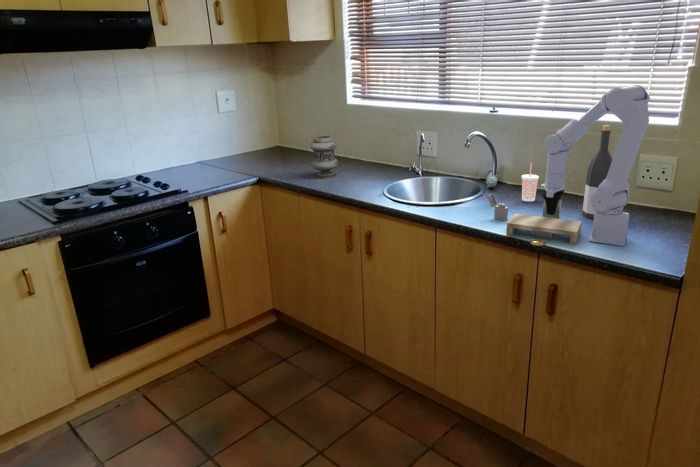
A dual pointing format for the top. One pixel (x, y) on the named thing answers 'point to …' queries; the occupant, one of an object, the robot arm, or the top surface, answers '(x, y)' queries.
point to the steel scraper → (556, 215)
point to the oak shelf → (545, 225)
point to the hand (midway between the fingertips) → (551, 212)
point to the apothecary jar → (324, 156)
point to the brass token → (537, 242)
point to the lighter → (498, 208)
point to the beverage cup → (529, 186)
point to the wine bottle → (597, 172)
